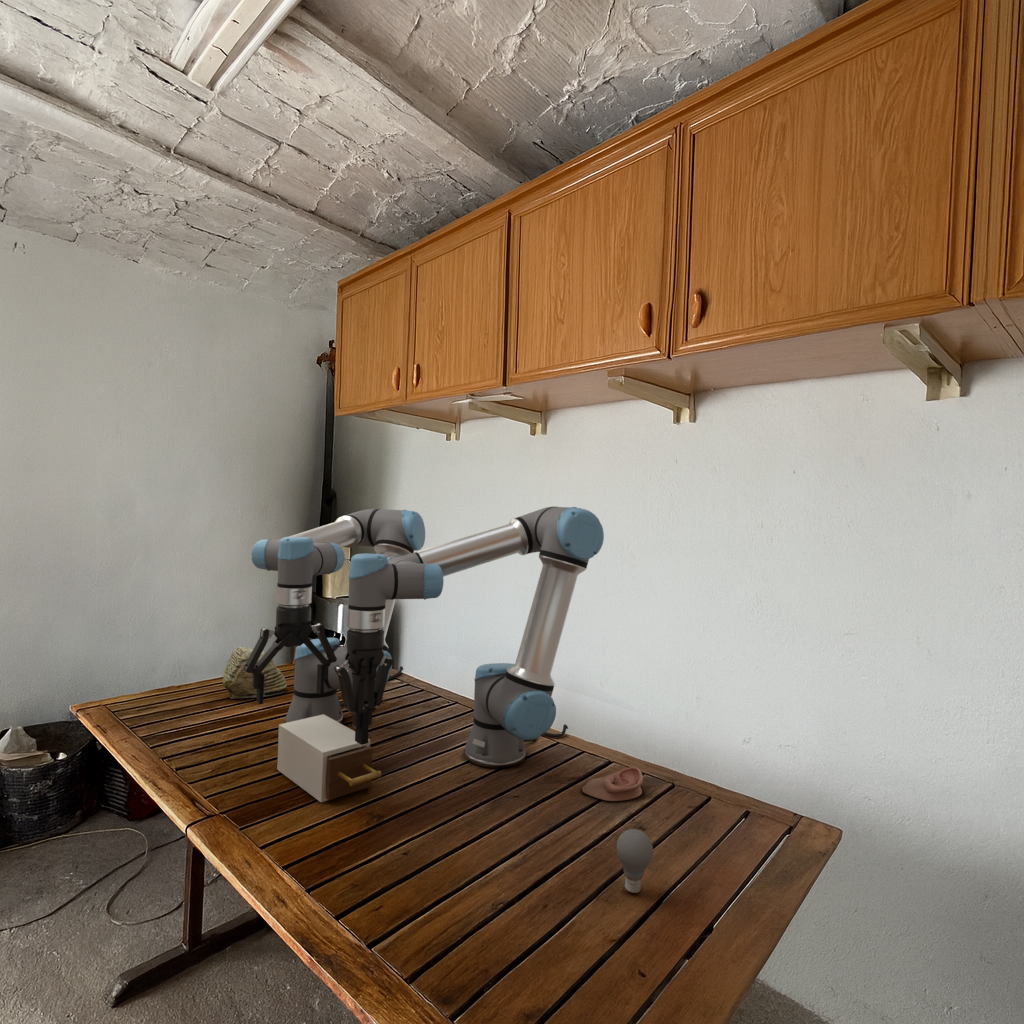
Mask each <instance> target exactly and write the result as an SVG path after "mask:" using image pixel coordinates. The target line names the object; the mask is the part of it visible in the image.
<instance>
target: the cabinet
mask: <svg viewBox="0 0 1024 1024" xmlns="http://www.w3.org/2000/svg"><path fill="white" fill-rule="evenodd" d="M277 737H278V739H277V742H278V743H277V762H276V763H277V766H276V770H277V771H278V772H280V773H281V774H282V775H283V776H285V777H286V778H288V779H289V780H290V781H292V782H293V783H294V784H296V785H297V786H298V787H300V788H301V789H302V790H304V791H305V792H306V793H308V794H309V795H310V796H311V797H313V798H314V799H315V800H317V801H318V802H320V803H325V802H327V801H329V800H328V799H326V777H327V756H330V755H334V754H337V753H341V752H344V751H348V750H351V749H355V748H359V747H362V748H365V747H369V746H370V747H371V739H370V738H368V743H367V744H363V745H361V744H359V743H358V742H356V741H355V730H353V729H352V728H350V727H348V726H346V725H344V724H342V723H341V724H340V723H339V722H337V721H335V720H333V719H331V718H330V717H328V716H326V715H324V714H323V715H319V716H314V717H310V718H305V719H301V720H297V721H292V722H288V723H286V722H283V723H280V724H278V735H277Z"/></svg>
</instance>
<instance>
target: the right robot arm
mask: <svg viewBox="0 0 1024 1024" xmlns="http://www.w3.org/2000/svg"><path fill="white" fill-rule="evenodd" d="M604 539H605V533H604V527H603V524H602V523H601V521H600V519H599V518H598V516H597V515H596V514H594V513H593V512H592V511H590V510H588V509H585V508H581V507H577V506H570V507H569V506H547V507H543V508H540V509H537V510H535V511H532V512H528V513H526V514H523V515H520V516H518V517H514V518H511V519H510V521H509V522H508V523H507V524H505V525H501V526H497V527H495V528H491V529H488V530H484V531H482V532H478V533H474V534H471V535H467V536H464V537H461V538H458V539H454V540H452V541H448V542H445V543H442V544H441V543H440V544H438V545H435V546H431V547H428V548H424V549H420V550H418V551H414V553H411V554H408V555H404V556H392V557H389V558H387V557H386V556H385V555H383V554H377V553H371V552H370V553H369V552H368V553H367V552H365V553H356V554H354V555H352V556H351V558H350V565H349V573H348V603H347V604H348V606H347V607H348V608H347V621H346V626H347V628H348V630H347V631H346V640H347V654H346V656H345V661H344V662H343V663H342V664H341V665H340V666H339V665H336V666H335V667H334V670H335V672H336V673H337V675H338V677H339V683H340V688H341V690H340V693H341V697H342V701H343V704H344V705H343V708H344V709H345V710H347V711H348V712H351V713H352V723H351V725H352V727H353V728H354V731H355V741H356V742H358V743H359V744H361V745H363V744H367V743H368V739H369V731H370V726H371V725H372V723H373V713H374V712H375V711H376V709H377V708H376V707H379V706H381V705H382V702H383V699H384V693H385V689H386V686H387V685H386V684H387V682H388V681H387V677H388V672H389V669H390V668H391V666H392V667H393V664H394V660H393V658H392V659H390V658H387V657H385V656H384V652H383V649H382V647H383V646H384V631H383V629H381V628H383V627H384V623H385V603H386V600H393V599H396V600H423V601H424V600H430V599H437V598H439V597H440V596H441V595H442V593H443V589H444V577H447V576H450V575H454V574H457V573H459V572H463V571H466V570H469V569H472V568H475V567H478V566H482V565H484V564H489V563H491V562H494V561H497V560H500V559H503V558H507V557H510V556H512V555H515V554H518V555H520V556H526V555H529V554H534V553H539V554H538V559H539V560H540V561H541V564H542V565H541V566H542V567H541V571H540V574H539V577H538V581H537V585H536V588H535V591H534V595H533V599H532V603H531V606H530V610H529V613H528V616H527V621H526V623H525V628H524V631H523V634H522V638H521V642H520V647H519V649H518V652H517V656H516V659H515V663H511V662H495V663H493V662H492V663H485V664H481V665H479V666H477V668H476V669H475V677H474V693H473V694H474V695H473V722H472V723H473V724H472V727H471V730H470V732H469V734H468V738H467V740H466V743H465V746H464V747H465V748H464V757H465V759H466V760H467V761H468V762H469V763H472V764H473V765H475V766H478V767H483V768H489V769H505V768H512V767H515V766H519V765H520V764H522V763H523V762H524V761H525V759H526V752H527V751H526V745H525V743H527V742H528V743H529V742H534V741H536V740H537V739H538V738H540V737H541V736H545V737H549V738H561V737H563V736H565V734H566V732H567V730H569V726H568V725H567V724H566V723H564V724H563V726H562V731H561V732H560V733H562V734H560V733H551V732H548V731H549V730H550V729H551V728H552V726H553V724H554V722H555V720H556V716H557V706H556V703H555V701H554V699H553V697H552V696H553V692H554V688H555V685H556V683H555V681H554V679H553V677H552V671H553V667H554V664H555V660H556V656H557V653H558V649H559V645H560V642H561V638H562V634H563V630H564V627H565V623H566V620H567V616H568V613H569V609H570V605H571V602H572V598H573V594H574V591H575V587H576V584H577V580H578V576H580V574H582V573H583V572H585V571H586V570H587V568H588V564H589V561H590V559H592V558H593V557H595V555H598V553H599V552H600V551H601V549H602V547H603V545H604ZM378 666H379V667H378ZM349 667H350V669H351V670H352V678H353V688H352V686H351V681H350V676H349V674H348V673H349ZM377 667H378V670H377ZM386 681H387V682H386Z"/></svg>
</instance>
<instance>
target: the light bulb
mask: <svg viewBox="0 0 1024 1024" xmlns="http://www.w3.org/2000/svg"><path fill="white" fill-rule="evenodd" d="M615 849H616V854H617V857H618V859H619V861H620V863H621V865H622V867H623V873H624V874H623V875H624V876H625V878H624V888H625V890H627V891H628V892H630V893H634V894H635V893H639V892H640V891H641V889H642V887H641V886H642V879H643V877H644V875H645V871H646V868H647V867H648V866H649V864H650V863H651V861H652V859H653V855H654V847H653V843H652V841H651V838H649V836H648V835H647V834H646V833H645V832H643V831H642V830H641V829H636V828H629V829H627V830H625V831H623V832H622V833H621V834H620V835H619V837H618V839H617V841H616V847H615Z"/></svg>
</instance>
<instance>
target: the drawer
mask: <svg viewBox="0 0 1024 1024" xmlns="http://www.w3.org/2000/svg"><path fill="white" fill-rule="evenodd" d="M381 777H382V772H381V770H375V769H374V768H373V747H372V746H371V745H370V746H369V747H365V748H362V747H359V748H355V749H351V750H348V751H344V752H341V753H337V754H334V755H330V756H327V777H326V799H328V800H327V801H332V800H333V799H334V800H335V799H337V798H340V797H343V796H346V795H350V794H352V793H355V792H359V791H361V790H364V789H368V788H370V787H372V781H373V780H377V779H378V778H381Z"/></svg>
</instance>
